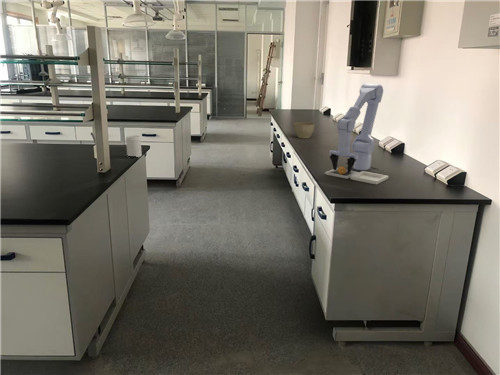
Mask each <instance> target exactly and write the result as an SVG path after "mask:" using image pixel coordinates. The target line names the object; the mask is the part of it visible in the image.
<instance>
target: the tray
mask: <svg viewBox="0 0 500 375" xmlns="http://www.w3.org/2000/svg"><path fill="white" fill-rule="evenodd" d="M338 168H339V167H337V169H336V170H334V169H333V168H332V169H330V170H327V171H325V172H324V175H327V176H331V177H337V178H342V179H349V178H351V176H352V175H354V174H357V173H359V171H355V170H351V172H349V174H347V175H345V174H343V175H341V174H339V173H335V172H338ZM345 173H347V169H346V172H345Z"/></svg>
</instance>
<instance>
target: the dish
mask: <svg viewBox="0 0 500 375" xmlns="http://www.w3.org/2000/svg"><path fill="white" fill-rule="evenodd" d="M388 179H389V175H385V174H380V173H375V172H369V171H366V170H361V171H360V172H359V171H358V173H357V174H354V175H352V176H351V177H350V180H353V181H356V182H362V183H367V184H372V185H379V184H381V183H382V182H383V183H384V181H387V180H388Z"/></svg>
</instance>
